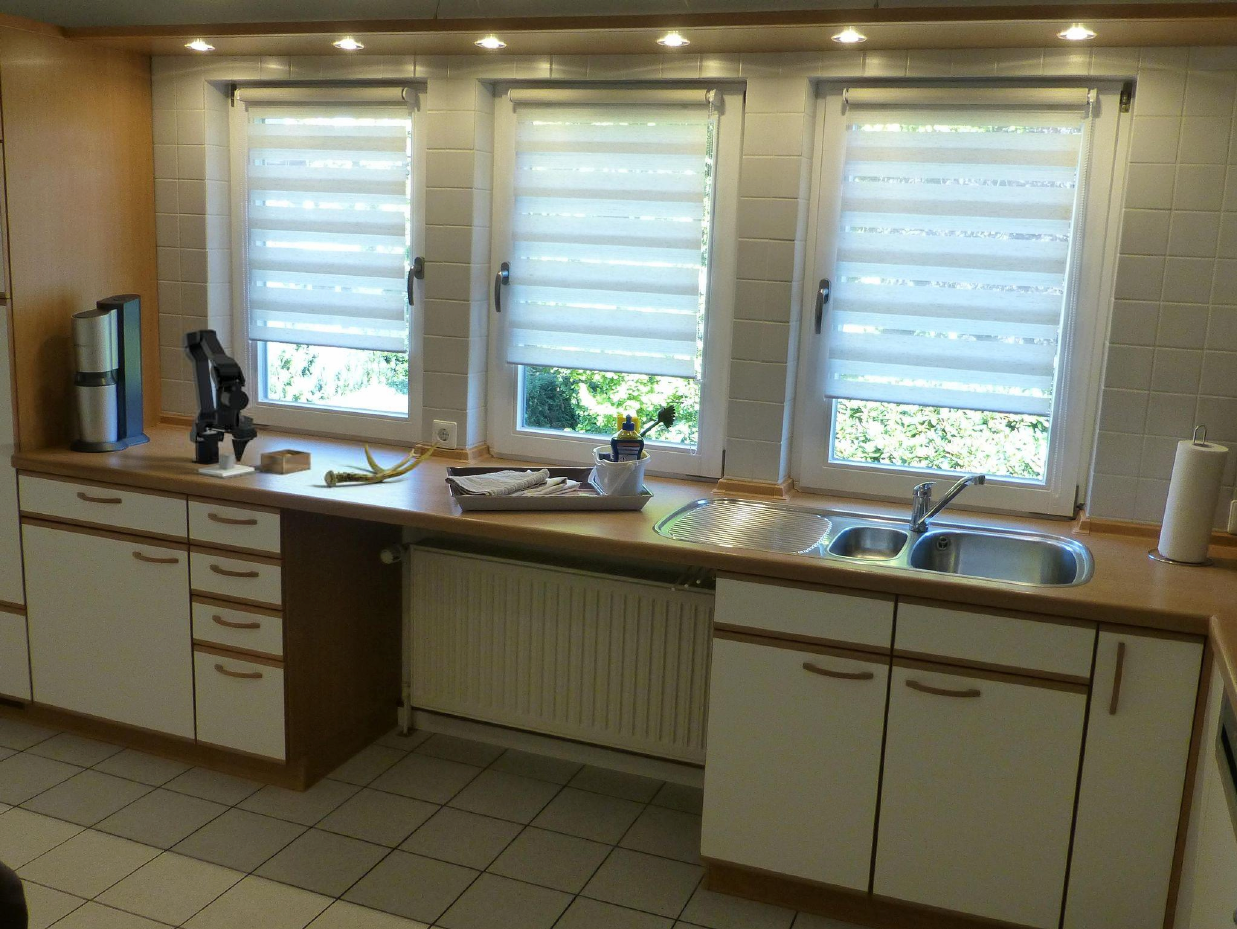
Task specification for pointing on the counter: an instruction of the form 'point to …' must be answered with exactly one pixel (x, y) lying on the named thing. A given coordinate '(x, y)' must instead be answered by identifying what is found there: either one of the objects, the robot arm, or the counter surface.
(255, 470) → the mat
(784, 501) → the counter surface
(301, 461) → the crate
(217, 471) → the lid
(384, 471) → the antler
